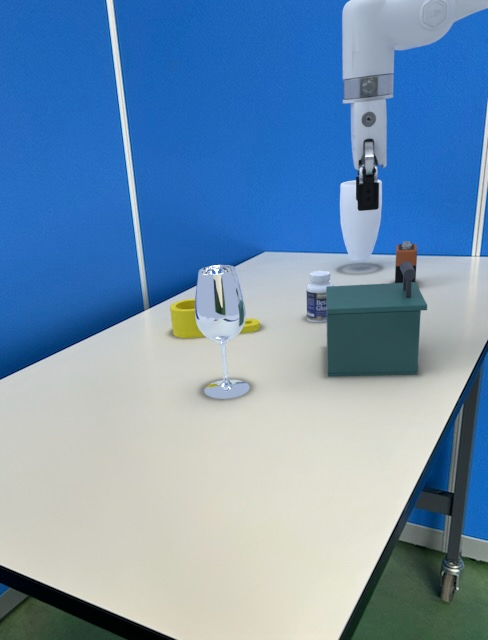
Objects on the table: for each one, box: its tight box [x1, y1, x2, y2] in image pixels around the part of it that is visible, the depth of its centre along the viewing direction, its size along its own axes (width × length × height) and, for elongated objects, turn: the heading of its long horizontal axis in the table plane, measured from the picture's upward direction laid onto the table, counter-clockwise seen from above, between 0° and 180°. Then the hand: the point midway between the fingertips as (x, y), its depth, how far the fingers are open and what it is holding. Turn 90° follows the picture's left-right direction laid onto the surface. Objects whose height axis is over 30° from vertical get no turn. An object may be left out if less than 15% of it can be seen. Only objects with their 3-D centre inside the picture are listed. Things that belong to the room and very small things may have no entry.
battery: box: [394, 240, 418, 283], centre depth 140 cm, size 4×7×10 cm, turn 163°
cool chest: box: [326, 295, 422, 378], centre depth 103 cm, size 14×13×11 cm
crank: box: [169, 298, 261, 339], centre depth 127 cm, size 18×8×6 cm, turn 81°
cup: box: [339, 179, 383, 262], centre depth 155 cm, size 10×10×22 cm
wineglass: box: [194, 264, 250, 400], centre depth 97 cm, size 8×8×20 cm
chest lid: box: [326, 261, 428, 314], centre depth 100 cm, size 15×13×6 cm
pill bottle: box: [305, 270, 334, 323], centre depth 126 cm, size 5×5×10 cm
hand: (366, 204), depth 103 cm, fingers open, 9 cm apart
